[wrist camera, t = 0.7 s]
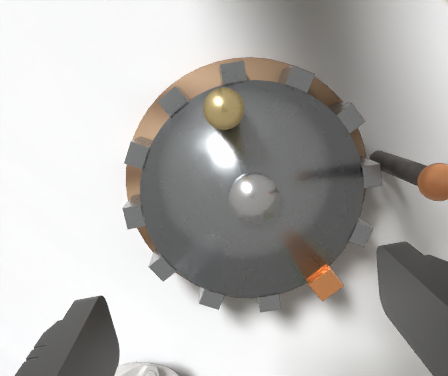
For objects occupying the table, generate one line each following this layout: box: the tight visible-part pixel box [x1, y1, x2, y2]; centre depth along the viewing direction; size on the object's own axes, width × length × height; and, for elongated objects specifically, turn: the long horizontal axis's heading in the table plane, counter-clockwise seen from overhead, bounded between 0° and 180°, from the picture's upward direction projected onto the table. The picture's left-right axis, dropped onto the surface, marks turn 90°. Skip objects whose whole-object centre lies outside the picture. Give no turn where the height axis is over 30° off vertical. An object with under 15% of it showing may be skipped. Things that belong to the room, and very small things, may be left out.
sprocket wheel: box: [123, 60, 382, 312], centre depth 30 cm, size 21×21×9 cm
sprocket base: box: [126, 57, 448, 277], centre depth 30 cm, size 22×25×11 cm
